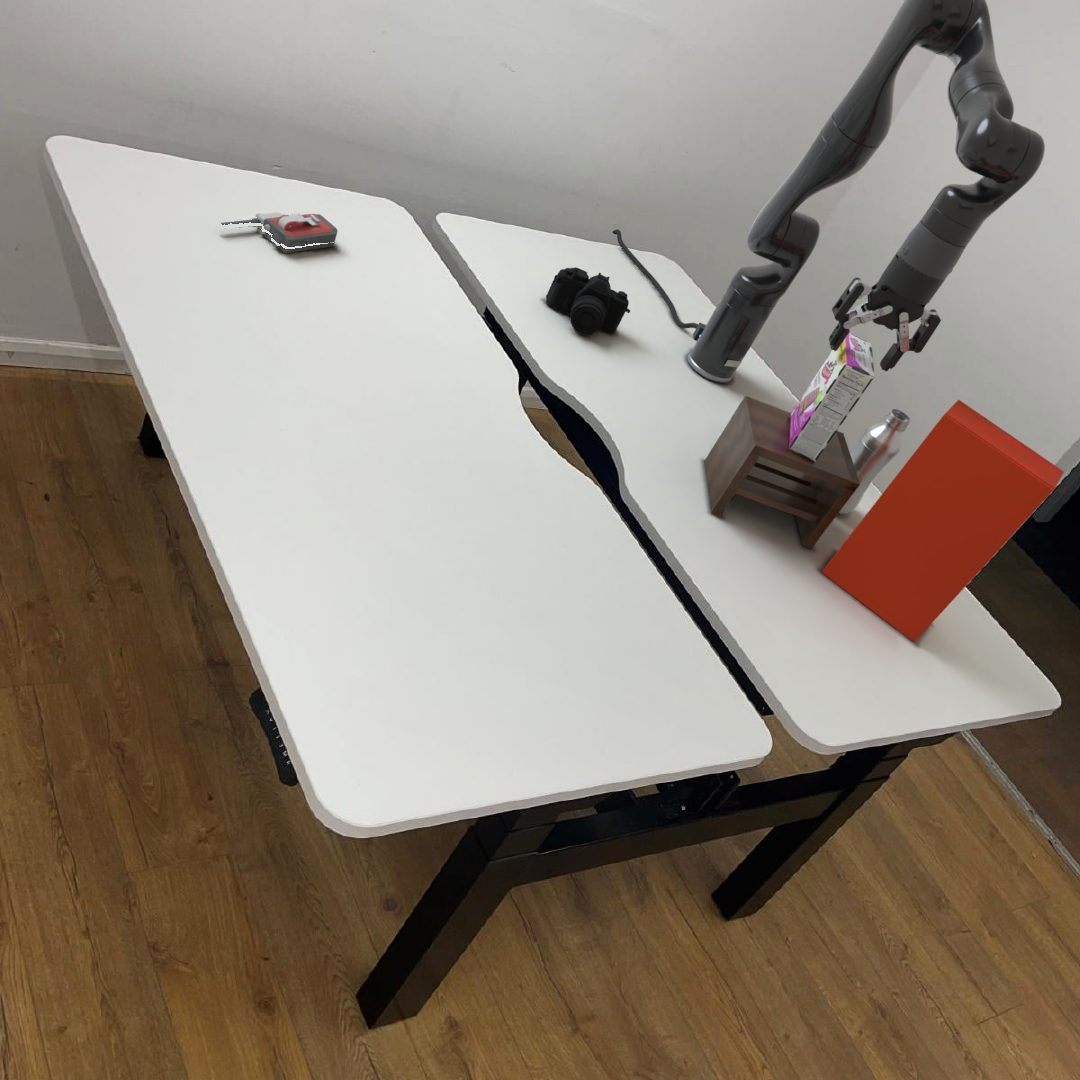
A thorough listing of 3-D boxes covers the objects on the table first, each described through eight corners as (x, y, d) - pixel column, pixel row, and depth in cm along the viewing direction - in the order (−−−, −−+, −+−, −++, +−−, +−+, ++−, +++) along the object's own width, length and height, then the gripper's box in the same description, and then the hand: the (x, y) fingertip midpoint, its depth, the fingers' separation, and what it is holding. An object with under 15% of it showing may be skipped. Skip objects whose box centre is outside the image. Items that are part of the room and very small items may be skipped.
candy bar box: (787, 414, 167) (844, 329, 157) (815, 427, 167) (873, 343, 157) (786, 449, 158) (846, 361, 148) (815, 463, 158) (877, 377, 149)
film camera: (537, 317, 189) (556, 274, 184) (546, 295, 197) (564, 253, 191) (613, 351, 191) (634, 310, 185) (619, 328, 198) (639, 288, 193)
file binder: (913, 644, 159) (1054, 489, 140) (820, 573, 163) (944, 413, 144) (927, 622, 165) (1064, 470, 146) (837, 554, 169) (959, 398, 150)
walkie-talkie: (309, 219, 183) (213, 229, 168) (315, 196, 180) (218, 205, 165) (341, 247, 180) (247, 260, 165) (348, 224, 177) (253, 235, 163)
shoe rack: (703, 461, 175) (745, 395, 166) (798, 496, 178) (843, 433, 170) (710, 513, 164) (755, 445, 155) (811, 549, 168) (860, 484, 159)
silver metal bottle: (809, 492, 181) (875, 401, 169) (837, 493, 184) (903, 404, 172) (828, 518, 177) (897, 426, 165) (857, 519, 180) (926, 429, 168)
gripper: (960, 269, 148) (893, 361, 158) (873, 231, 145) (811, 328, 155) (975, 293, 142) (905, 388, 152) (884, 254, 139) (819, 353, 149)
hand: (857, 357), depth 153 cm, fingers open, 8 cm apart
